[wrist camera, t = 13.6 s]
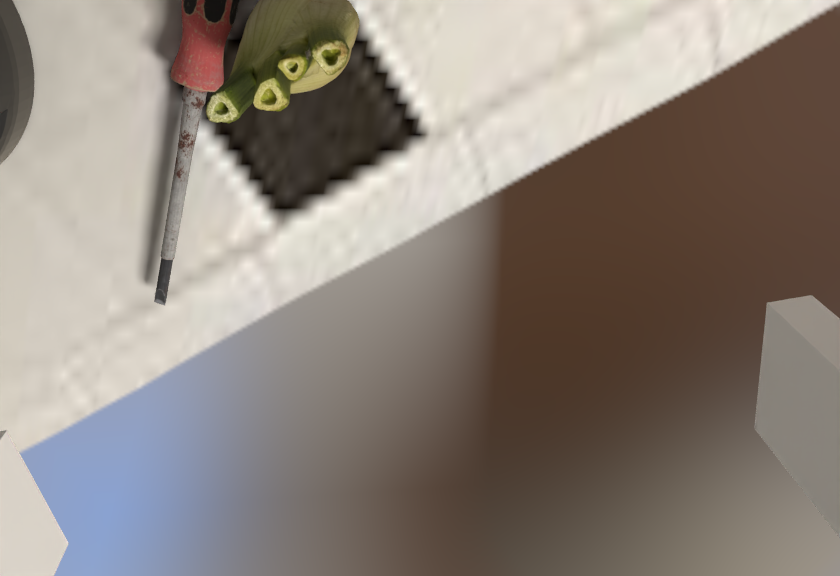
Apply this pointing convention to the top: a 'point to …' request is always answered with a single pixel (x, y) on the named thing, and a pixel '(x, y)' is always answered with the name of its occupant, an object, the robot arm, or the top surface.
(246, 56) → the fennel bulb
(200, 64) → the screwdriver
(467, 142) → the top surface
